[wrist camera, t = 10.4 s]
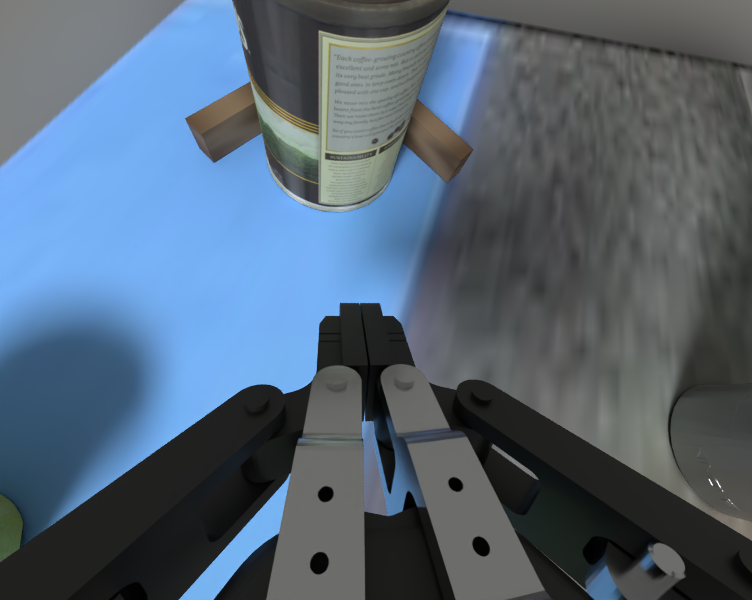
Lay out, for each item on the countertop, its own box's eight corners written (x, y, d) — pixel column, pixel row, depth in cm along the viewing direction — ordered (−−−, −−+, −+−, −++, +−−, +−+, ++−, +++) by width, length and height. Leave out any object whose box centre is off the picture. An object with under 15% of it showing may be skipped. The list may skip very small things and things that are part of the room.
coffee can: (250, 196, 24) (162, -53, 11) (284, 92, 27) (249, -202, 14) (384, 227, 25) (458, 39, 12) (402, 124, 28) (477, -117, 15)
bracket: (459, 184, 27) (474, 161, 25) (197, 161, 24) (182, 132, 21) (448, 83, 30) (461, 53, 28) (214, 50, 27) (203, 12, 24)
